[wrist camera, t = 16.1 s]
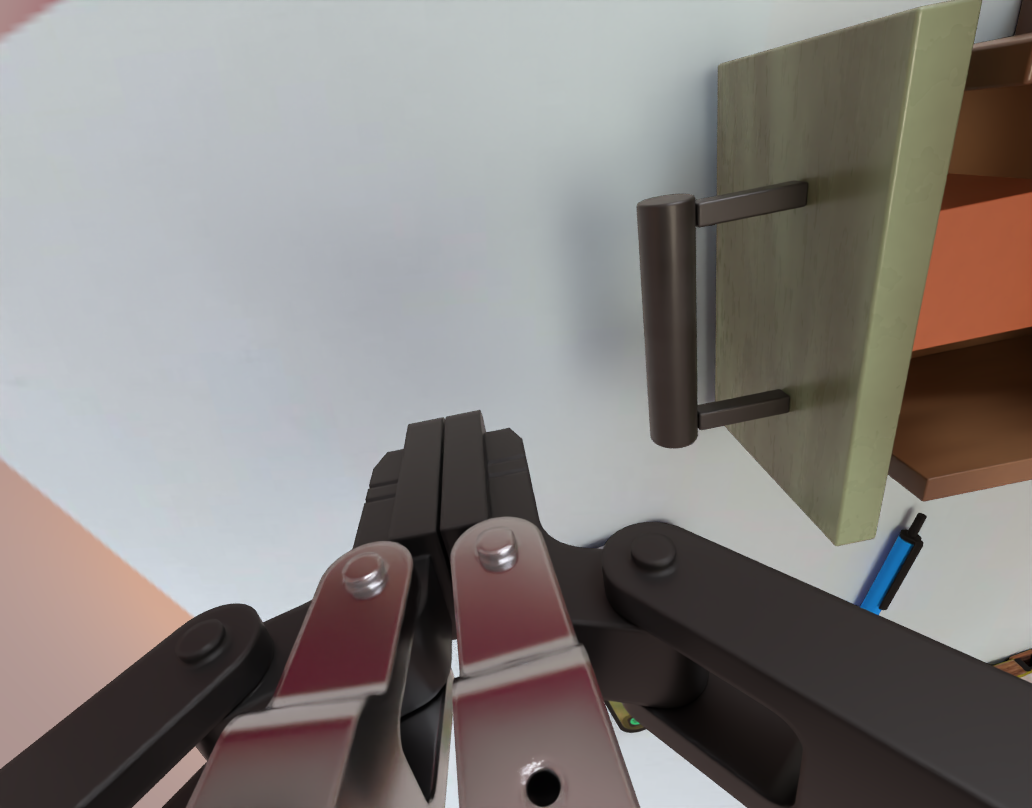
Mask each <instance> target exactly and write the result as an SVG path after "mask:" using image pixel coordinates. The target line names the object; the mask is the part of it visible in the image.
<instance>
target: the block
mask: <svg viewBox="0 0 1032 808" xmlns="http://www.w3.org/2000/svg"><path fill="white" fill-rule="evenodd" d="M1028 327H1032V179H1022V178H1008V177H993V176H979V175H965V174H951V173H950V174H947V179H946V184H945V189H944V194H943V199H942V204H941V209H940V214H939V219H938V224H937V230H936V235H935V240H934V245H933V250H932V255H931V260H930V265H929V270H928V275H927V280H926V285H925V290H924V295H923V300H922V305H921V310H920V315H919V320H918V325H917V330H916V335H915V340H914V345H913V350H912V351H916V350H921V349H926V348H931V347H935V346H940V345H945V344H950V343H955V342H960V341H965V340H969V339H974V338H979V337H984V336H989V335H994V334H999V333H1003V332H1008V331H1013V330H1018V329H1023V328H1028Z"/></svg>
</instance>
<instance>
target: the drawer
mask: <svg viewBox="0 0 1032 808" xmlns="http://www.w3.org/2000/svg"><path fill="white" fill-rule="evenodd" d="M981 4H982V0H951V1H946V2H941V3H936V4H931V5H926V6H921V7H917V8H913V9H910V10H906V11H903V12H899V13H896V14H892V15H889V16H885V17H882V18H878V19H875V20H871V21H868V22H864V23H861V24H857V25H854V26H850V27H847V28H843V29H840V30H836V31H833V32H829V33H826V34H822V35H819V36H815V37H812V38H808V39H805V40H802V41H798V42H795V43H791V44H788V45H784V46H781V47H777V48H774V49H770V50H767V51H763V52H760V53H756V54H753V55H749V56H746V57H742V58H739V59H735V60H732V61H728V62H725V63H721V64H720V65H718V112H717V196H713V197H708V198H703V199H698V200H695V197H694V195H691V194H670V195H663V196H657V197H653V198H649V199H645V200H643V201H641V202H639V203H638V204H637V222H638V239H639V255H640V272H641V288H642V305H643V322H644V338H645V355H646V371H647V388H648V404H649V421H650V436H651V439H652V440H653V442H654V443H656V444H657V445H659V446H662V447H665V448H682V447H686V446H689V445H691V444H692V443H694V442H695V440H696V439H697V436H698V428H699V430H705V429H710V428H715V427H720V426H725V427H726V428H727V430H728V431H729V432H730V433H731V434H732V435H733V436H734V437H735V438H736V439H737V440H738V441H739V443H740V444H741V445H742V446H743V447H744V448H745V449H746V450H747V451H748V452H749V453H750V454H751V456H752V457H753V458H754V459H755V460H756V461H757V462H758V463H759V464H760V465H761V466H762V467H763V468H764V470H765V471H766V472H767V473H768V474H769V475H770V476H771V477H772V478H773V479H774V480H775V481H776V483H777V484H778V485H779V486H780V487H781V488H782V489H783V490H784V491H785V492H786V493H787V494H788V496H789V497H790V498H791V499H792V500H793V501H794V502H795V503H796V504H797V505H798V506H799V507H800V509H801V510H802V511H803V512H804V513H805V514H806V515H807V516H808V517H809V518H810V519H811V520H812V521H813V523H814V524H815V525H816V526H817V527H818V528H819V529H820V530H821V531H822V532H823V533H824V534H825V536H826V537H827V538H828V539H829V540H830V541H831V542H832V543H833V544H834V545H835V546H841V545H845V544H850V543H855V542H860V541H865V540H870V539H873V538H875V535H876V530H877V525H878V520H879V515H880V510H881V505H882V500H883V495H884V490H885V485H886V480H887V475H889V476H891V477H892V478H893V479H894V480H896V481H897V482H898V483H899V484H901V485H902V486H903V487H905V488H906V489H907V490H908V491H910V492H911V493H912V494H914V495H915V496H916V497H917V498H919V499H920V500H921V501H929V500H934V499H938V498H943V497H948V496H953V495H958V494H963V493H968V492H973V491H978V490H983V489H987V488H992V487H997V486H1002V485H1007V484H1012V483H1017V482H1022V481H1027V480H1032V327H1028V328H1023V329H1018V330H1013V331H1008V332H1003V333H999V334H994V335H989V336H984V337H979V338H974V339H969V340H965V341H960V342H955V343H950V344H945V345H940V346H935V347H931V348H926V349H921V350H916V351H912V350H913V345H914V340H915V335H916V330H917V325H918V320H919V315H920V310H921V305H922V300H923V295H924V290H925V285H926V280H927V275H928V270H929V265H930V260H931V255H932V250H933V245H934V240H935V235H936V230H937V224H938V219H939V214H940V209H941V204H942V199H943V194H944V189H945V184H946V179H947V174H950V173H951V174H965V175H979V176H993V177H1008V178H1022V179H1032V33H1027V34H1021V35H1016V36H1011V37H1006V38H1001V39H996V40H991V41H986V42H981V43H976V44H974V39H975V34H976V29H977V24H978V19H979V14H980V9H981ZM715 224H717V237H716V362H715V402H711V403H706V404H701V405H697V318H696V227H705V226H710V225H715Z"/></svg>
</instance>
